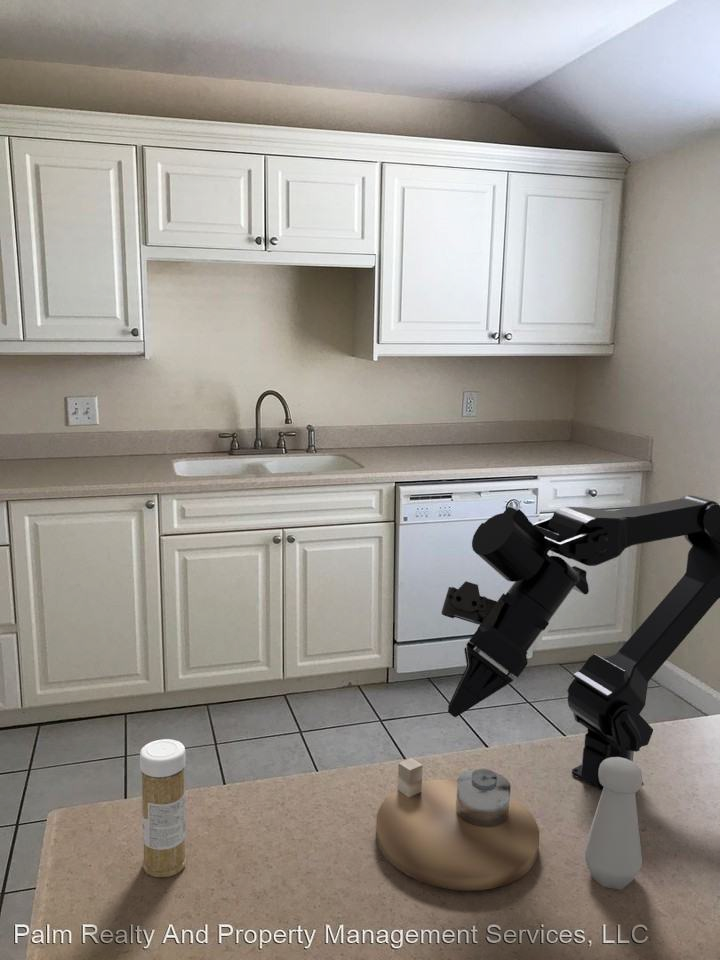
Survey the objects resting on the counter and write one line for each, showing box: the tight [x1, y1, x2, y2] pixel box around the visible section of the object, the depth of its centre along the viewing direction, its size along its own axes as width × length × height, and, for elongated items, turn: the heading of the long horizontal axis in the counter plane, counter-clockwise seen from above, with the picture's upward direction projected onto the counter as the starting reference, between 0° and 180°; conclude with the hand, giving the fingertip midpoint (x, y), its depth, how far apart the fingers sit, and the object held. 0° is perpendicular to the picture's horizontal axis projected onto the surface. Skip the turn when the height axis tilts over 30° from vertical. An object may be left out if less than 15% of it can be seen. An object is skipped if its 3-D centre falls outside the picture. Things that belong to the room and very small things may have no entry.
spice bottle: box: [139, 738, 187, 878], centre depth 86 cm, size 5×5×14 cm
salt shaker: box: [584, 757, 643, 891], centre depth 86 cm, size 6×6×13 cm
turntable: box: [375, 757, 540, 891], centre depth 92 cm, size 18×18×5 cm
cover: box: [456, 768, 511, 827], centre depth 94 cm, size 6×6×4 cm
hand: (451, 712), depth 94 cm, fingers open, 9 cm apart
